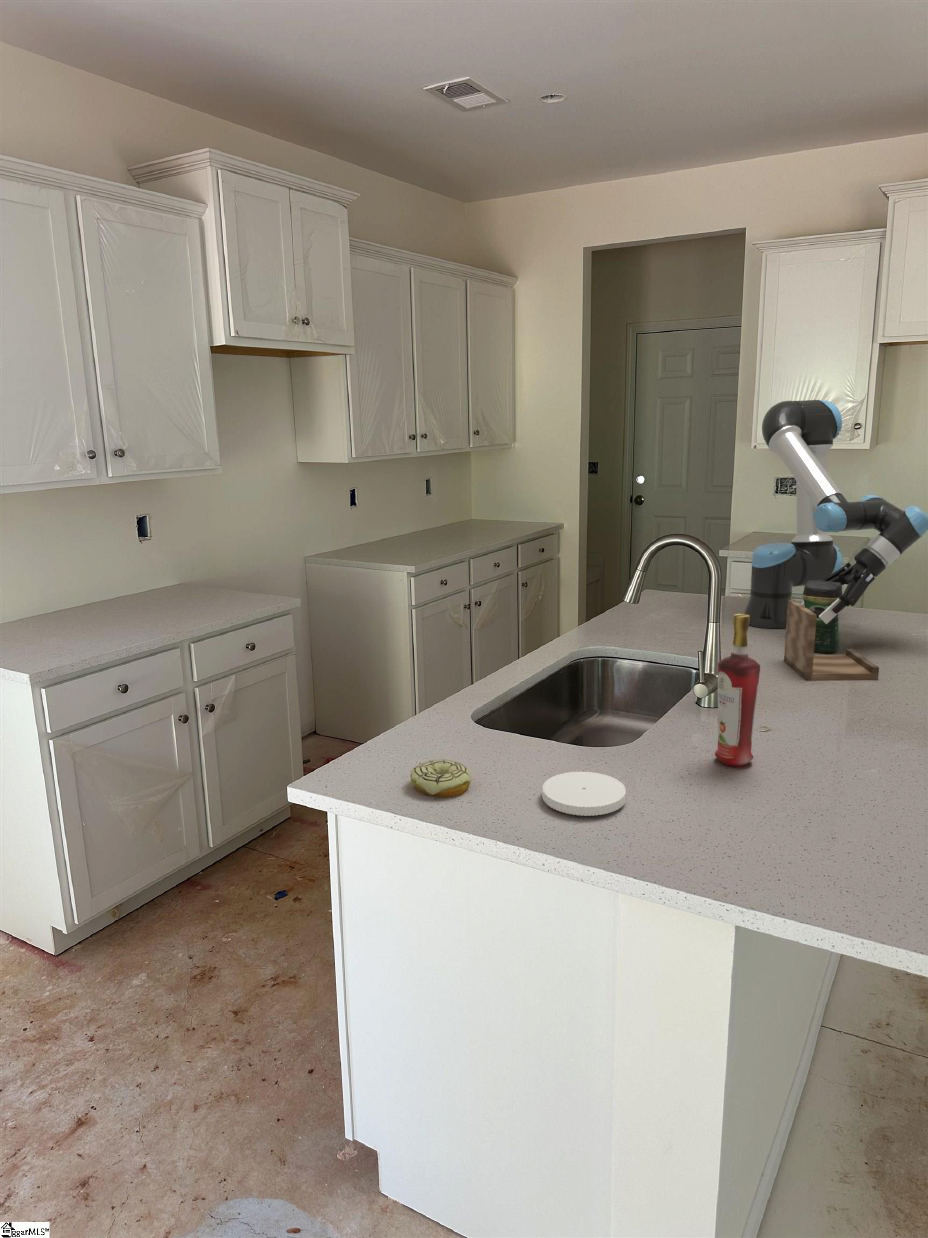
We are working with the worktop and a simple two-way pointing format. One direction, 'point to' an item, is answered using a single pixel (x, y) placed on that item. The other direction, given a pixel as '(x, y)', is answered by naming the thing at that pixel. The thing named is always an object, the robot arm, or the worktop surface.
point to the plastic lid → (584, 793)
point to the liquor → (737, 699)
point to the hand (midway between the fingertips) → (812, 614)
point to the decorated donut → (441, 778)
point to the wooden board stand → (819, 666)
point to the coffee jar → (818, 601)
